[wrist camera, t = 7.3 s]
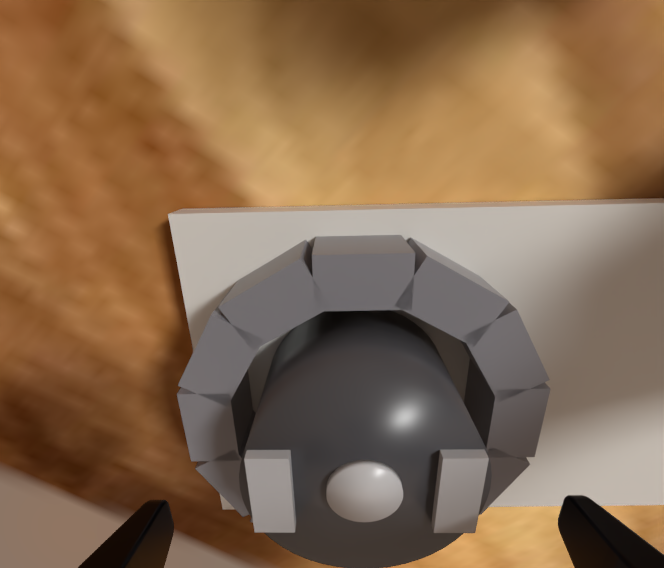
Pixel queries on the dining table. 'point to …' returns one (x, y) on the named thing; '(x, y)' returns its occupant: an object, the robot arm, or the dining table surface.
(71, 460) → the dining table surface
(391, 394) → the cap
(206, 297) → the plate
